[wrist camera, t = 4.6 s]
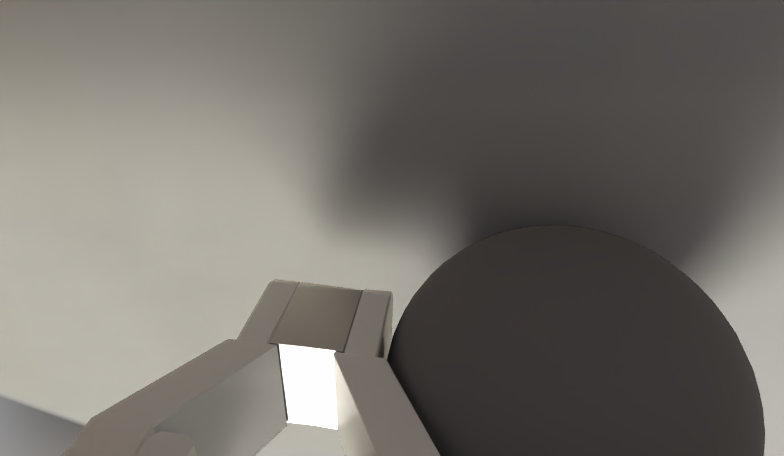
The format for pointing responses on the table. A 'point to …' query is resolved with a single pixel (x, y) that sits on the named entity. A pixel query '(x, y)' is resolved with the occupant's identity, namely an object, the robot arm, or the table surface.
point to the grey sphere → (573, 353)
